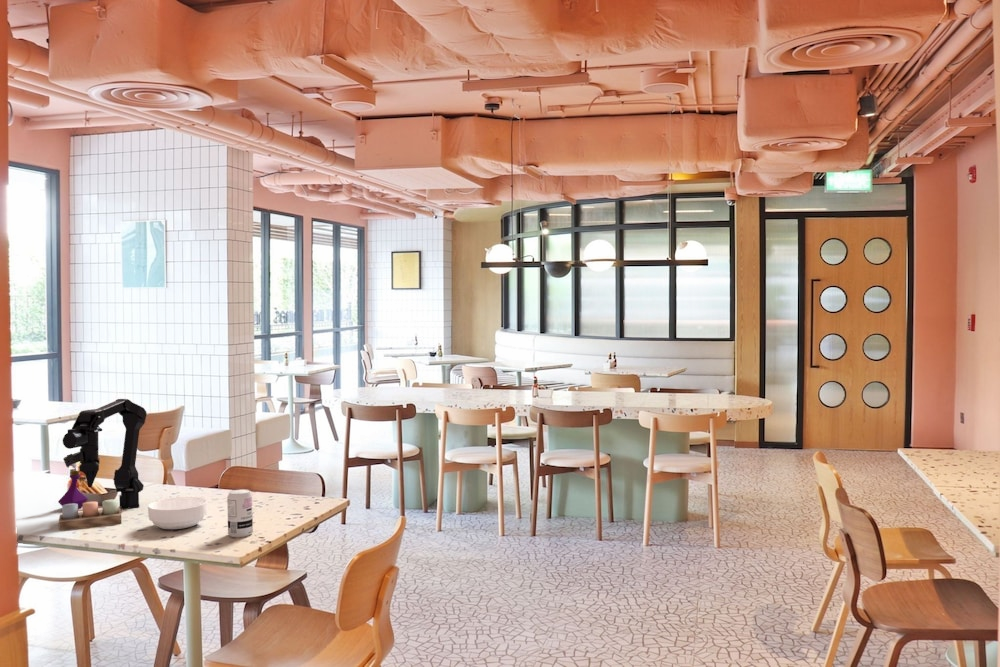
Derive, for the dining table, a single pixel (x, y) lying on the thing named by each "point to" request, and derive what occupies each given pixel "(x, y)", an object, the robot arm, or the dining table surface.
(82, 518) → the wooden compartment tray
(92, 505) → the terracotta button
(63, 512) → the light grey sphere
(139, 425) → the robot arm
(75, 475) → the perfume bottle
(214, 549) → the dining table surface
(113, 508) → the pale green rounded cube
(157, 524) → the bowl
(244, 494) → the supplement can
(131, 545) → the dining table surface
